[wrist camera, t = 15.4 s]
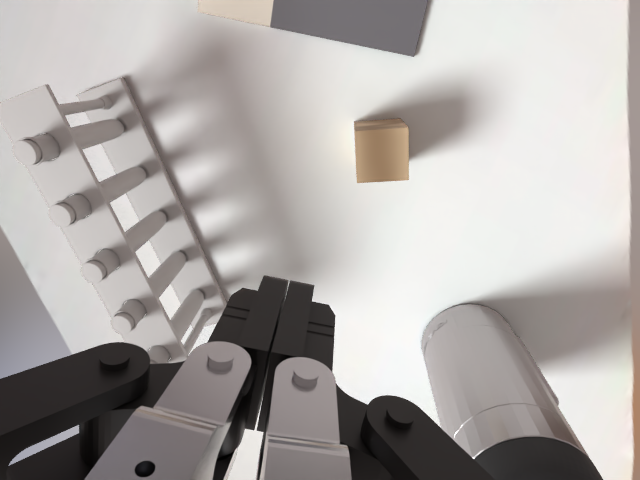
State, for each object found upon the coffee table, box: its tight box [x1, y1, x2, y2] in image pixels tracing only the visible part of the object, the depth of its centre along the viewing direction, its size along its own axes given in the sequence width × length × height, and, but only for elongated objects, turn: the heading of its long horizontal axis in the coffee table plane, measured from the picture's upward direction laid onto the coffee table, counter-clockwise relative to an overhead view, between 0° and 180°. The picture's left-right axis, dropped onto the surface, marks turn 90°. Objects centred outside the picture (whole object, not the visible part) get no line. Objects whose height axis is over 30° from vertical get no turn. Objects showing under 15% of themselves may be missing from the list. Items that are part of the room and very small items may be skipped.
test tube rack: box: [0, 78, 227, 364], centre depth 38 cm, size 25×4×13 cm, turn 19°
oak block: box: [354, 118, 409, 183], centre depth 37 cm, size 4×4×6 cm
